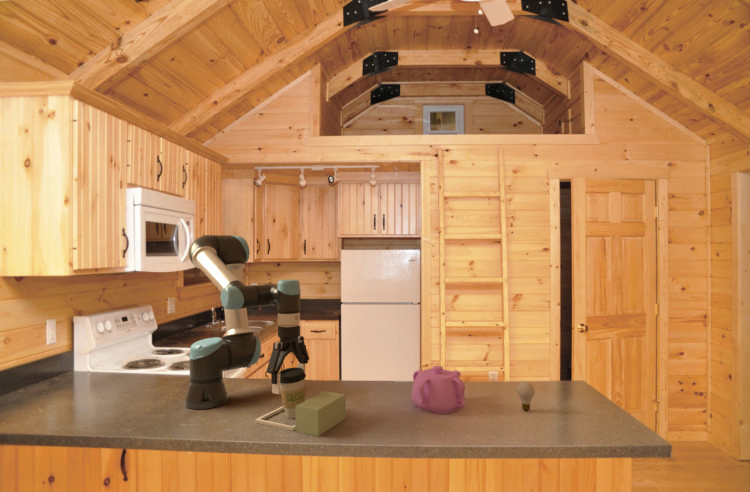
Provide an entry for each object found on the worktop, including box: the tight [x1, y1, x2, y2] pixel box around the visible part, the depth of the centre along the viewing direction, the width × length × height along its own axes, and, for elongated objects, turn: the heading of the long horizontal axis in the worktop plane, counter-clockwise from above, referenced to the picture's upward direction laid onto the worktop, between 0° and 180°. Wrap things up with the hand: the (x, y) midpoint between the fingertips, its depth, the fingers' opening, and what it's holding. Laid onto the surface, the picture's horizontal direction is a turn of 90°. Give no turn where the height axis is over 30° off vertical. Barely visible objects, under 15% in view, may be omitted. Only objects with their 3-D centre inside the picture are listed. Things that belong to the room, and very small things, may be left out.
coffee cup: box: [278, 366, 307, 419], centre depth 153 cm, size 10×10×15 cm
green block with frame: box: [254, 390, 347, 437], centre depth 149 cm, size 25×16×8 cm, turn 63°
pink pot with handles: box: [411, 365, 466, 415], centre depth 163 cm, size 19×21×14 cm
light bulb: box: [516, 381, 536, 412], centre depth 156 cm, size 6×6×10 cm
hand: (289, 387), depth 151 cm, fingers open, 13 cm apart
